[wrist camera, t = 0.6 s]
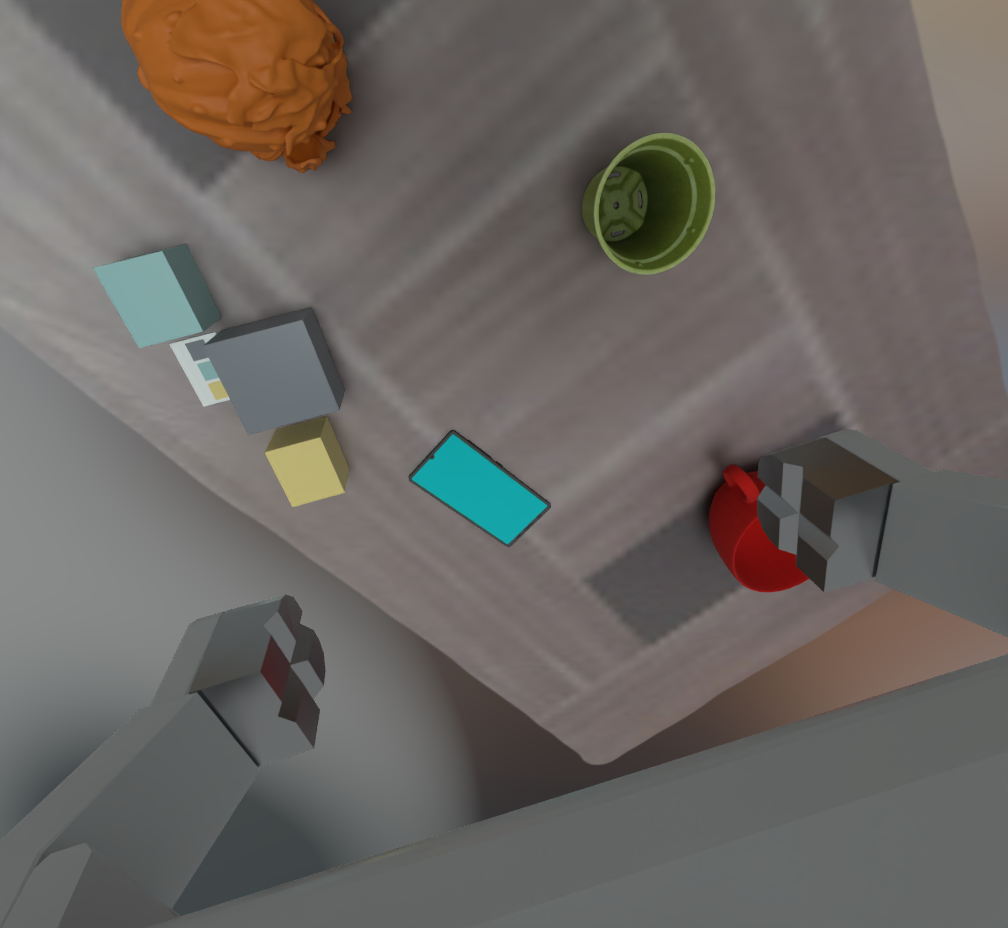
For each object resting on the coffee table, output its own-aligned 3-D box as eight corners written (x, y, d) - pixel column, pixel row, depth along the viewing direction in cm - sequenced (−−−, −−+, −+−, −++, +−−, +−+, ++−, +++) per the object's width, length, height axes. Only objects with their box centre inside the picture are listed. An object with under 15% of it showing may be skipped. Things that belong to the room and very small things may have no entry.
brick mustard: (276, 429, 51) (264, 452, 46) (326, 415, 51) (320, 437, 46) (301, 480, 54) (292, 507, 49) (349, 467, 54) (344, 492, 49)
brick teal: (124, 259, 42) (92, 268, 38) (186, 243, 42) (162, 250, 38) (164, 331, 45) (139, 347, 41) (221, 317, 45) (203, 331, 41)
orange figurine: (172, 12, 36) (-5, -120, 20) (328, -24, 36) (274, -182, 21) (247, 192, 41) (153, 198, 26) (381, 158, 42) (371, 143, 26)
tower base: (221, 330, 45) (202, 345, 41) (311, 306, 46) (302, 319, 42) (261, 412, 49) (248, 434, 45) (344, 390, 50) (339, 410, 45)
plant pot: (553, 157, 44) (585, 152, 36) (660, 128, 44) (714, 117, 37) (571, 272, 48) (603, 288, 41) (668, 245, 49) (717, 256, 41)
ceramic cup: (748, 405, 59) (809, 443, 50) (801, 497, 66) (862, 544, 58) (653, 475, 61) (695, 524, 52) (715, 557, 69) (761, 611, 60)
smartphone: (508, 548, 62) (407, 479, 55) (507, 543, 62) (407, 475, 56) (552, 505, 60) (453, 429, 53) (551, 501, 60) (452, 426, 54)
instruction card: (169, 343, 45) (169, 344, 45) (215, 331, 45) (215, 332, 45) (204, 406, 48) (203, 406, 48) (246, 394, 48) (246, 395, 48)
